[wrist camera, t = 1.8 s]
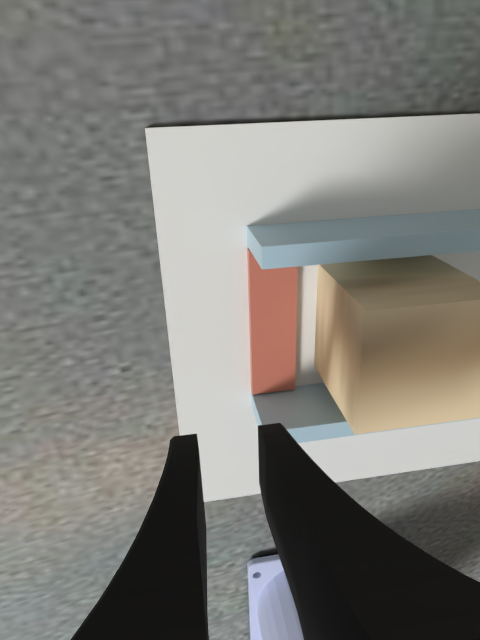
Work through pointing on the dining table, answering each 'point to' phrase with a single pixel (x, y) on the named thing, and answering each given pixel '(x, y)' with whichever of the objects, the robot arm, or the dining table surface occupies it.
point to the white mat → (298, 206)
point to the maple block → (399, 342)
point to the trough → (281, 300)
